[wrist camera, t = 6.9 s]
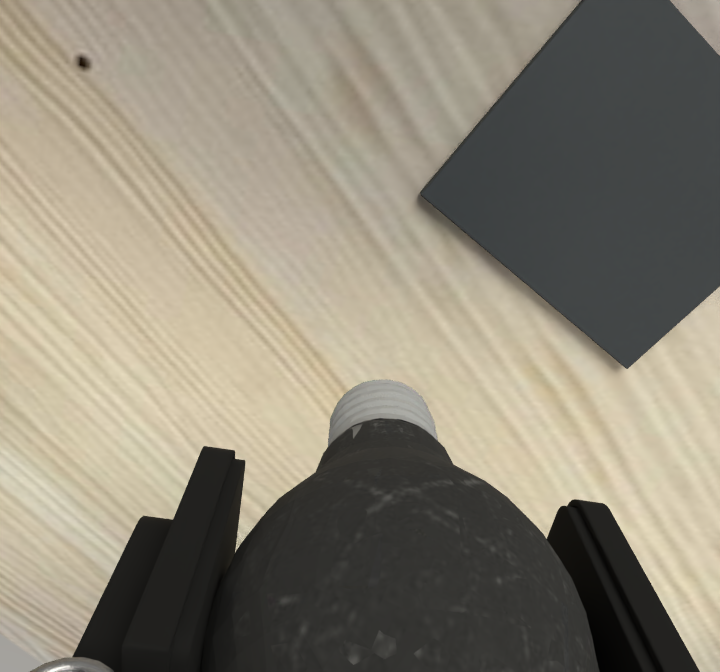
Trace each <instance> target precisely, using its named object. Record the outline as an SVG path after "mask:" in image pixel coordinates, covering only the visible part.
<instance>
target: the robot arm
mask: <svg viewBox="0 0 720 672" xmlns="http://www.w3.org/2000/svg"><path fill="white" fill-rule="evenodd" d="M244 471H245V460H239V459H235V451H234V450H227V449H220V448H213V447H206V446H204V447H203V449H202V451H201V453H200V455H199V458H198V460H197V463H196V465H195V468H194V470H193V473H192V475H191V477H190V480H189V482H188V485H187V487H186V490H185V492H184V495H183V497H182V499H181V502H180V504H179V507H178V509H177V512H176V514H175V517H174V519H173V520H170V519H163V518H155V517H148V516H143V517H142V518H140V520H139V521H138V523H137V525H136V527H135V529H134V531H133V533H132V535H131V537H130V539H129V541H128V543H127V545H126V548H125V550H124V552H123V554H122V556H121V558H120V560H119V562H118V564H117V566H116V568H115V570H114V572H113V574H112V576H111V579H110V581H109V583H108V585H107V587H106V589H105V591H104V593H103V595H102V597H101V599H100V601H99V603H98V605H97V607H96V610H95V612H94V614H93V616H92V618H91V620H90V622H89V624H88V626H87V628H86V630H85V632H84V634H83V636H82V639H81V641H80V643H79V645H78V647H77V649H76V651H75V653H74V655H73V657H72V658H62V659H58V660H55V661H52V662H48V663H45V664H43V665H41V666H40V667H38V668H36V669H34V670H32V671H30V672H201V661H202V653H203V646H204V640H205V635H206V630H207V626H208V622H209V618H210V614H211V610H212V605H213V601H214V597H215V594H216V592H217V590H218V588H219V586H220V583H221V581H222V579H223V577H224V575H225V573H226V571H227V569H228V567H229V565H230V563H231V562H232V559H233V557H234V555H235V548H236V539H237V531H238V522H239V514H240V505H241V497H242V488H243V480H244ZM547 541H548V542H549V544H550V545H551V547H552V548H553V550H554V551H555V553H556V554H557V555H558V557H559V559H560V560H561V562H562V563H563V565H564V567H565V568H566V570H567V571H568V573H569V575H570V576H571V578H572V580H573V582H574V585H575V587H576V590H577V592H578V594H579V597H580V599H581V602H582V604H583V606H584V609H585V611H586V614H587V619H588V623H589V628H590V631H591V634H592V639H593V644H594V649H595V654H596V659H597V663H598V668H599V672H700V671H699V669H698V668H697V666H696V664H695V662H694V660H693V659H692V657H691V655H690V653H689V651H688V650H687V648H686V646H685V644H684V642H683V641H682V639H681V637H680V635H679V633H678V632H677V630H676V628H675V626H674V625H673V623H672V621H671V619H670V617H669V616H668V614H667V612H666V610H665V608H664V607H663V605H662V603H661V601H660V599H659V598H658V596H657V594H656V592H655V590H654V589H653V587H652V585H651V583H650V581H649V580H648V578H647V576H646V574H645V572H644V571H643V569H642V567H641V565H640V563H639V562H638V560H637V558H636V556H635V554H634V553H633V551H632V549H631V547H630V545H629V544H628V542H627V540H626V538H625V536H624V535H623V533H622V531H621V529H620V527H619V526H618V524H617V522H616V520H615V518H614V517H613V515H612V513H611V511H610V510H609V508H608V507H607V506H606V505H605V504H603V503H596V502H589V501H582V500H572V501H571V502H569V504H568V506H561V507H560V508H559V510H558V512H557V514H556V517H555V519H554V522H553V524H552V527H551V530H550V532H549V535H548V537H547Z"/></svg>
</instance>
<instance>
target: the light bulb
mask: <svg viewBox="0 0 720 672" xmlns="http://www.w3.org/2000/svg"><path fill="white" fill-rule="evenodd" d="M201 672H599V668H598V663H597V659H596V654H595V649H594V644H593V639H592V634H591V631H590V628H589V623H588V619H587V614H586V611H585V609H584V606H583V604H582V602H581V599H580V597H579V594H578V592H577V590H576V587H575V585H574V582H573V580H572V578H571V576H570V575H569V573H568V571H567V570H566V568H565V567H564V565H563V563H562V562H561V560H560V559H559V557H558V555H557V554H556V553H555V551H554V550H553V548H552V547H551V545H550V544H549V542H548V541H547V539H546V538H545V536H544V534H543V533H542V532H541V531H540V530H539V529H538V528H537V527H536V526H535V525H534V524H533V523H532V522H531V521H530V520H529V519H528V518H527V517H526V515H524V514H523V513H522V512H521V511H520V510H519V509H518V508H517V507H516V506H515V505H514V504H513V503H512V502H511V501H510V500H509V499H508V498H507V497H506V496H505V495H503V494H502V493H501V492H499V491H498V490H497V489H495V488H494V487H493V486H491V485H490V484H488V483H487V482H486V481H484V480H482V479H480V478H478V477H476V476H474V475H472V474H470V473H468V472H466V471H464V470H463V469H461V468H459V467H457V466H455V465H453V463H452V461H451V459H450V457H449V455H448V454H447V452H446V450H445V448H444V447H443V446H442V445H441V444H440V443H439V442H438V439H437V434H436V430H435V423H434V420H433V418H432V416H431V414H430V412H429V410H428V407H427V405H426V403H425V401H424V399H423V398H422V396H420V395H419V394H418V393H417V392H416V391H415V390H414V389H413V388H411V387H409V386H407V385H405V384H403V383H401V382H397V381H393V380H372V381H367V382H363V383H361V384H359V385H357V386H355V387H353V388H352V389H351V390H349V391H348V392H347V393H346V394H344V396H343V397H342V398H341V399H340V401H339V402H338V403H337V405H336V407H335V409H334V412H333V414H332V416H331V419H330V429H329V438H328V448H327V449H326V451H325V452H324V453H323V456H322V458H321V461H320V463H319V465H318V468H317V470H316V473H314V474H313V475H311V476H310V477H308V478H307V479H305V480H304V481H303V482H301V483H300V484H298V485H297V486H296V487H294V488H293V489H292V490H290V491H289V492H287V493H286V494H285V495H283V496H282V497H281V498H279V499H278V500H277V501H276V502H275V504H274V505H273V506H272V507H271V508H270V509H269V510H268V511H267V512H266V513H265V515H264V516H263V517H262V518H261V519H260V521H259V522H258V523H257V524H256V526H255V527H254V528H253V529H252V531H251V532H250V533H249V534H248V536H247V537H246V538H245V539H244V541H243V542H242V543H241V545H240V546H239V548H238V549H237V550H236V553H235V555H234V557H233V559H232V562H231V563H230V565H229V567H228V569H227V571H226V573H225V575H224V577H223V579H222V581H221V583H220V586H219V588H218V590H217V592H216V594H215V597H214V601H213V605H212V610H211V614H210V618H209V622H208V626H207V630H206V635H205V640H204V646H203V653H202V661H201Z"/></svg>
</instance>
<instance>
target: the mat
mask: <svg viewBox="0 0 720 672" xmlns="http://www.w3.org/2000/svg"><path fill="white" fill-rule="evenodd" d="M420 194H421V196H423V197H424V198H425V199H426V200H427V201H429V202H430V203H431V204H432V205H433V206H434V207H436V208H437V209H438V210H439V211H440V212H442V213H443V214H444V215H445V216H446V217H447V218H449V219H450V220H451V221H452V222H453V223H455V224H456V225H457V226H458V227H459V228H461V229H462V230H463V231H464V232H465V233H466V234H468V235H469V236H470V237H471V238H472V239H474V240H475V241H476V242H477V243H478V244H479V245H481V246H482V247H483V248H484V249H485V250H487V251H488V252H489V253H490V254H491V255H492V256H494V257H495V258H496V259H497V260H498V261H500V262H501V263H502V264H503V265H504V266H506V267H507V268H508V269H509V270H510V271H511V272H513V273H514V274H515V275H516V276H517V277H519V278H520V279H521V280H522V281H523V282H524V283H526V284H527V285H528V286H529V287H530V288H532V289H533V290H534V291H535V292H536V293H538V294H539V295H540V296H541V297H542V298H543V299H545V300H546V301H547V302H548V303H549V304H551V305H552V306H553V307H554V308H555V309H556V310H558V311H559V312H560V313H561V314H562V315H564V316H565V317H566V318H567V319H568V320H569V321H571V322H572V323H573V324H574V325H575V326H577V327H578V328H579V329H580V330H581V331H583V332H584V333H585V334H586V335H587V336H588V337H590V338H591V339H592V340H593V341H594V342H596V343H597V344H598V345H599V346H600V347H601V348H603V349H604V350H605V351H606V352H607V353H609V354H610V355H611V356H612V357H613V358H614V359H616V360H617V361H618V362H619V363H620V364H622V365H623V366H624V367H625V368H626V369H628V368H629V367H630V366H631V365H632V364H633V363H634V362H636V361H637V360H638V359H639V358H640V357H641V356H642V355H643V354H644V353H646V352H647V351H648V350H649V349H650V348H651V347H652V346H653V345H655V344H656V343H657V342H658V341H659V340H660V339H661V338H662V337H663V336H665V335H666V334H667V333H668V332H669V331H670V330H671V329H672V328H673V327H675V326H676V325H677V324H678V323H679V322H680V321H681V320H682V319H684V318H685V317H686V316H687V315H688V314H689V313H690V312H691V311H692V310H694V309H695V308H696V307H697V306H698V305H699V304H700V303H701V302H702V301H704V300H705V299H706V298H707V297H708V296H709V295H710V294H711V293H713V292H714V291H715V290H716V289H717V288H718V287H719V286H720V56H719V55H718V54H717V53H716V51H715V50H714V49H713V48H712V47H711V46H710V45H709V44H708V43H707V41H706V40H705V39H704V38H703V37H702V36H701V35H700V34H699V33H698V32H697V30H696V29H695V28H694V27H693V26H692V25H691V24H690V23H689V22H688V20H687V19H686V18H685V17H684V16H683V15H682V14H681V13H680V12H679V10H678V9H677V8H676V7H675V6H674V5H673V4H672V3H671V2H670V0H582V1H581V2H580V3H579V5H578V6H577V7H576V8H575V9H574V11H573V12H572V13H571V14H570V15H569V16H568V18H567V19H566V20H565V21H564V22H563V24H562V25H561V26H560V27H559V28H558V29H557V31H556V32H555V33H554V34H553V35H552V37H551V38H550V39H549V40H548V41H547V43H546V44H545V45H544V46H543V47H542V48H541V50H540V51H539V52H538V53H537V54H536V56H535V57H534V58H533V59H532V60H531V62H530V63H529V64H528V65H527V66H526V67H525V69H524V70H523V71H522V72H521V73H520V75H519V76H518V77H517V78H516V79H515V81H514V82H513V83H512V84H511V85H510V86H509V88H508V89H507V90H506V91H505V92H504V94H503V95H502V96H501V97H500V98H499V100H498V101H497V102H496V103H495V104H494V105H493V107H492V108H491V109H490V110H489V111H488V113H487V114H486V115H485V116H484V117H483V118H482V120H481V121H480V122H479V123H478V124H477V126H476V127H475V128H474V129H473V130H472V132H471V133H470V134H469V135H468V136H467V137H466V139H465V140H464V141H463V142H462V143H461V145H460V146H459V147H458V148H457V149H456V151H455V152H454V153H453V154H452V155H451V156H450V158H449V159H448V160H447V161H446V162H445V164H444V165H443V166H442V167H441V168H440V170H439V171H438V172H437V173H436V174H435V175H434V177H433V178H432V179H431V180H430V181H429V183H428V184H427V185H426V186H425V187H424V189H423V190H422V191H421V192H420Z"/></svg>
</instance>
